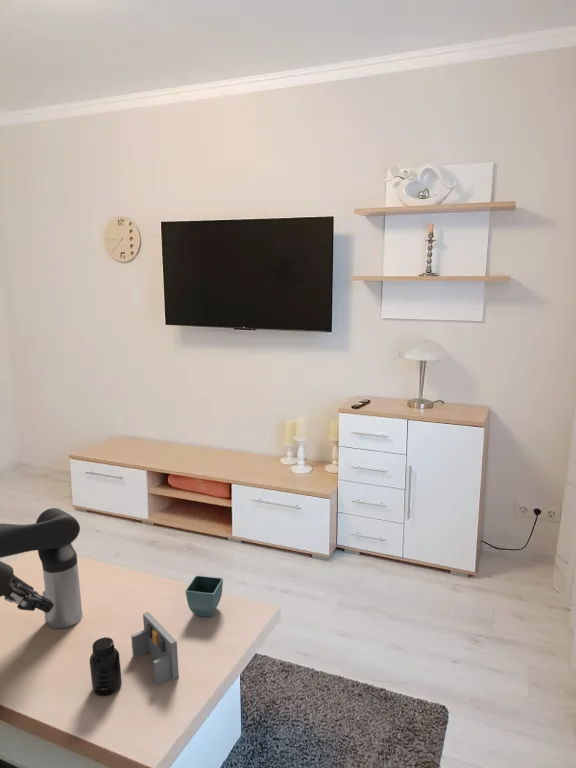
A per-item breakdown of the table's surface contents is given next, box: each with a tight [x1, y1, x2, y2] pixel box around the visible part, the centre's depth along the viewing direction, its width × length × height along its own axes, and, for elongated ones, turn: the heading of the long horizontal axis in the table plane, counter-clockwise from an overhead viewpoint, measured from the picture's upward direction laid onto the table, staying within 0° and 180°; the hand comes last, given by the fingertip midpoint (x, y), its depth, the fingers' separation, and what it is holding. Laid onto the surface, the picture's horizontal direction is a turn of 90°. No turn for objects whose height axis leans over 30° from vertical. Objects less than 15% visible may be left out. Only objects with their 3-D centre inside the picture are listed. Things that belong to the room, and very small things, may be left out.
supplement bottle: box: [89, 636, 123, 697], centre depth 136 cm, size 7×7×12 cm
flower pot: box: [185, 575, 224, 618], centre depth 166 cm, size 9×9×9 cm
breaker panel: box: [130, 611, 180, 686], centre depth 144 cm, size 6×16×10 cm, turn 38°
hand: (50, 607), depth 125 cm, fingers closed
